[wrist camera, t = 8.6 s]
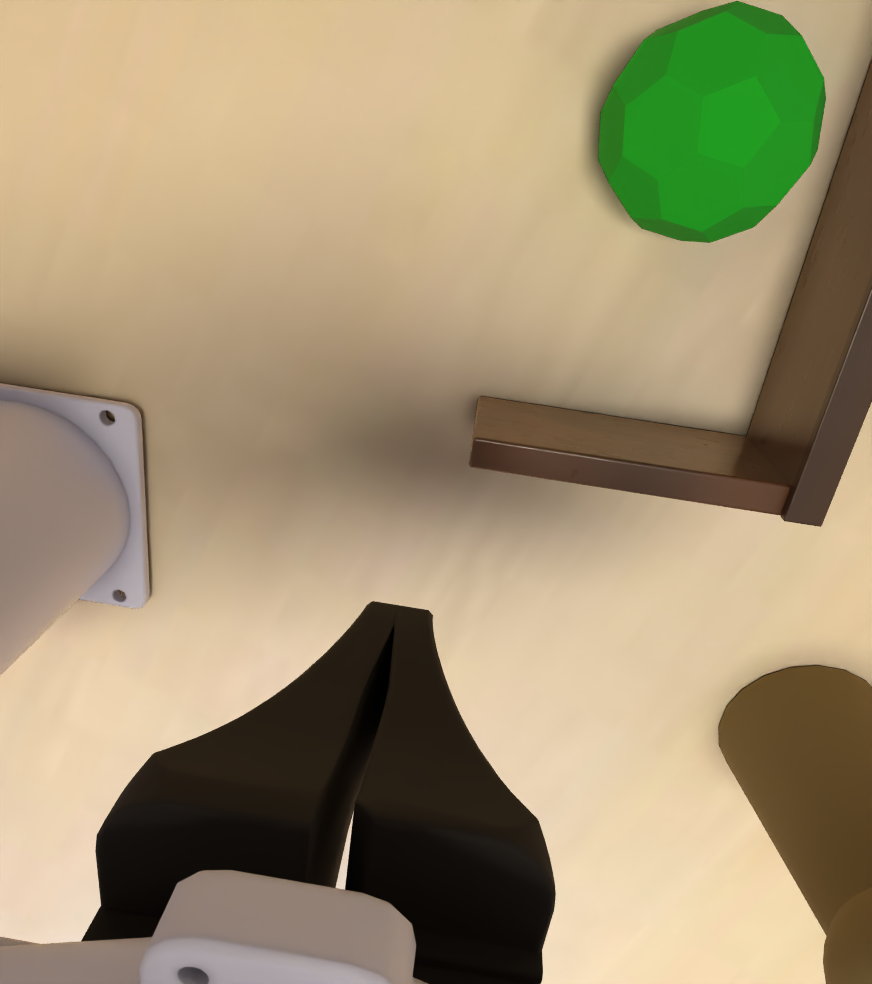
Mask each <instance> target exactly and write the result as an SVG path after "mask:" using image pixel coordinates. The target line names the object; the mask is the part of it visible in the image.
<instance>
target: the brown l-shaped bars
mask: <svg viewBox="0 0 872 984" xmlns="http://www.w3.org/2000/svg"><path fill="white" fill-rule="evenodd" d="M871 402H872V62H871V65H870V68H869V71H868V74H867V77H866V80H865V83H864V86H863V89H862V92H861V95H860V98H859V101H858V104H857V107H856V110H855V113H854V116H853V119H852V122H851V125H850V128H849V131H848V134H847V137H846V140H845V143H844V146H843V149H842V152H841V155H840V158H839V161H838V164H837V167H836V170H835V173H834V176H833V179H832V182H831V185H830V188H829V191H828V194H827V197H826V200H825V203H824V206H823V209H822V212H821V215H820V218H819V221H818V224H817V227H816V230H815V233H814V236H813V239H812V242H811V245H810V248H809V251H808V254H807V257H806V260H805V263H804V266H803V269H802V272H801V275H800V278H799V281H798V284H797V287H796V290H795V293H794V296H793V299H792V302H791V305H790V308H789V311H788V314H787V317H786V320H785V323H784V326H783V329H782V332H781V335H780V338H779V341H778V344H777V347H776V350H775V353H774V356H773V359H772V362H771V365H770V368H769V371H768V374H767V377H766V380H765V383H764V386H763V389H762V392H761V395H760V398H759V401H758V404H757V407H756V410H755V413H754V416H753V419H752V422H751V425H750V428H749V431H748V434H747V437H745V436H738V435H732V434H725V433H719V432H712V431H706V430H699V429H693V428H686V427H679V426H673V425H666V424H660V423H653V422H647V421H640V420H633V419H627V418H620V417H614V416H607V415H601V414H594V413H588V412H581V411H574V410H568V409H561V408H555V407H548V406H542V405H535V404H529V403H522V402H515V401H509V400H502V399H496V398H489V397H483V396H481V397H479V398H478V403H477V410H476V416H475V422H474V430H473V438H472V445H471V453H470V461H469V465H470V467H473V468H480V469H486V470H492V471H499V472H505V473H512V474H518V475H525V476H531V477H537V478H544V479H550V480H557V481H563V482H570V483H576V484H582V485H589V486H595V487H602V488H608V489H615V490H621V491H627V492H634V493H640V494H647V495H653V496H660V497H666V498H672V499H679V500H685V501H692V502H698V503H705V504H711V505H717V506H724V507H730V508H737V509H743V510H750V511H756V512H762V513H769V514H775V515H781V518H782V519H783V520H784V521H788V522H794V523H801V524H807V525H814V526H822V523H823V521H824V518H825V516H826V514H827V511H828V509H829V506H830V504H831V501H832V499H833V496H834V494H835V491H836V489H837V486H838V484H839V481H840V479H841V476H842V474H843V471H844V469H845V466H846V464H847V461H848V459H849V456H850V454H851V452H852V449H853V447H854V444H855V442H856V439H857V437H858V434H859V432H860V429H861V427H862V424H863V422H864V419H865V417H866V414H867V412H868V409H869V407H870V404H871Z"/></svg>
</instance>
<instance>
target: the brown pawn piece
mask: <svg viewBox="0 0 872 984" xmlns="http://www.w3.org/2000/svg"><path fill="white" fill-rule="evenodd" d="M719 747H720V749H721V751H722V753H723V755H724V757H725V760H726V762H727V764H728V765H729V767H730V769H731V771H732V772H733V774H734V776H735V777H736V779H737V781H738V783H739V784H740V786H741V788H742V790H743V791H744V793H745V795H746V797H747V798H748V800H749V802H750V804H751V805H752V807H753V809H754V811H755V812H756V814H757V816H758V817H759V819H760V821H761V823H762V824H763V826H764V828H765V830H766V831H767V833H768V835H769V837H770V838H771V840H772V842H773V844H774V845H775V847H776V849H777V850H778V852H779V854H780V856H781V857H782V859H783V861H784V863H785V864H786V866H787V868H788V870H789V871H790V873H791V875H792V877H793V878H794V880H795V882H796V884H797V885H798V887H799V889H800V890H801V892H802V894H803V896H804V897H805V899H806V901H807V903H808V904H809V906H810V908H811V910H812V911H813V913H814V915H815V917H816V918H817V920H818V922H819V924H820V925H821V927H822V929H823V930H824V932H825V934H826V936H827V937H826V940H825V944H824V956H823V965H824V972H825V979H826V984H872V687H871V686H870V684H869V683H868V682H867V681H865V680H863V679H861V678H859V677H857V676H855V675H853V674H851V673H849V672H847V671H845V670H840V669H835V668H829V667H824V666H806V667H792V668H788V669H785V670H781V671H778V672H775V673H772V674H769V675H766V676H763V677H762V678H760V679H759V680H757V681H755V682H754V683H752V684H751V685H749V686H747V687H746V688H744V689H742V690H741V692H740V693H739V694H738V695H737V696H736V697H735V698H734V699H733V700H732V702H731V703H730V704H729V705H728V706H727V707H726V710H725V712H724V715H723V717H722V719H721V722H720V724H719Z"/></svg>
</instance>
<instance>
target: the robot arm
mask: <svg viewBox="0 0 872 984" xmlns="http://www.w3.org/2000/svg"><path fill="white" fill-rule="evenodd" d="M106 410H107V411H110V412H111V413H112V414H113V415H114V417H115V422H113V421H111V420H109V419H108V418H107V416H106ZM118 590H121V591H123V592H124V593H125V595H126V596H123V595H121V594H120V593H119V592H118ZM149 597H150V587H149V566H148V545H147V523H146V502H145V480H144V459H143V438H142V419H141V415H140V412H139V411H138V409H137V408H136V407H134V406H133V405H131V404H129V403H125V402H119V401H112V400H106V399H99V398H93V397H86V396H80V395H73V394H67V393H61V392H54V391H48V390H41V389H35V388H28V387H22V386H15V385H9V384H3V383H0V676H1V675H2V674H3V673H4V672H5V671H6V670H7V669H8V668H9V667H10V666H11V665H12V664H13V663H14V662H15V661H16V660H17V659H18V658H19V657H20V656H21V655H22V654H23V653H24V652H25V651H26V650H27V649H28V648H29V647H30V646H31V645H32V644H33V643H34V642H35V641H36V640H37V639H38V638H39V637H40V636H41V635H42V634H43V633H44V632H45V631H46V630H47V629H48V628H49V627H50V626H51V625H52V624H53V623H55V622H56V621H57V620H58V619H59V618H60V617H61V616H62V615H63V614H64V613H65V612H66V611H67V610H68V609H69V608H70V607H71V606H72V605H73V604H74V603H75V602H76V601H77V600H78V599H79V600H85V601H91V602H97V603H103V604H109V605H115V606H122V607H128V608H141V607H143V606H144V605H145V603H146V602H147V601H148V600H149ZM353 811H354V816H353V825H352V833H351V842H350V851H349V860H348V869H347V878H346V886H345V890H343V889H337V888H335V887H336V882H337V878H338V873H339V869H340V864H341V860H342V855H343V851H344V846H345V842H346V837H347V833H348V829H349V825H350V822H351V818H352V815H353ZM96 860H97V869H98V879H99V889H100V898H101V907H100V908H99V910H98V912H97V914H96V916H95V917H94V919H93V921H92V923H91V925H90V926H89V928H88V930H87V932H86V933H85V935H84V937H83V939H82V941H81V942H66V943H50V944H38V943H32V942H27V941H21V940H15V939H10V938H4V937H0V984H541V981H542V975H543V965H542V948H543V945H544V941H545V938H546V935H547V931H548V928H549V925H550V921H551V918H552V915H553V912H554V906H555V895H556V894H555V883H554V877H553V872H552V867H551V862H550V857H549V854H548V850H547V846H546V842H545V839H544V836H543V833H542V830H541V827H540V824H539V821H538V819H537V818H536V817H535V816H534V815H533V814H532V813H531V812H530V811H529V810H528V809H527V808H526V807H525V806H524V805H523V804H522V803H521V802H520V801H519V800H518V799H517V798H516V797H515V796H514V795H513V793H512V792H511V791H510V790H509V789H508V788H507V786H506V785H505V784H504V783H503V781H502V780H501V779H500V778H499V777H498V775H497V774H496V772H495V771H494V769H493V768H492V766H491V765H490V764H489V762H488V761H487V759H486V758H485V756H484V755H483V753H482V752H481V751H480V749H479V748H478V746H477V744H476V743H475V741H474V739H473V737H472V736H471V734H470V732H469V730H468V729H467V727H466V725H465V723H464V721H463V719H462V717H461V715H460V713H459V711H458V709H457V706H456V704H455V702H454V699H453V697H452V694H451V692H450V690H449V687H448V684H447V682H446V679H445V676H444V673H443V669H442V666H441V663H440V660H439V656H438V652H437V648H436V644H435V639H434V633H433V615H432V614H431V613H430V611H429V610H424V609H417V608H411V607H405V606H399V605H393V604H387V603H380V602H374V601H373V602H371V603H369V604H368V605H367V606H366V607H365V609H364V610H363V612H362V613H361V614H360V616H359V617H358V618H357V619H356V621H355V622H354V623H353V624H352V625H351V627H350V628H349V629H348V630H347V631H346V632H345V633H344V634H343V636H342V637H341V638H340V639H339V640H338V641H337V642H336V643H335V644H334V645H333V646H332V647H331V648H330V649H329V650H328V651H327V652H326V653H325V654H324V655H323V656H322V657H321V658H320V659H319V660H317V661H316V662H315V663H314V664H313V665H312V666H311V667H310V668H309V669H307V670H306V671H305V672H304V673H303V674H302V675H300V676H299V677H298V678H297V679H296V680H294V681H293V682H292V683H290V684H289V685H288V686H287V687H285V688H284V689H282V690H281V691H280V692H278V693H277V694H276V695H274V696H273V697H271V698H270V699H268V700H267V701H265V702H264V703H262V704H260V705H259V706H257V707H256V708H254V709H253V710H251V711H249V712H248V713H246V714H244V715H243V716H241V717H239V718H237V719H235V720H233V721H231V722H229V723H227V724H225V725H223V726H221V727H219V728H217V729H215V730H213V731H211V732H208V733H206V734H204V735H202V736H199V737H197V738H194V739H192V740H189V741H186V742H184V743H181V744H178V745H176V746H173V747H170V748H167V749H165V750H162V751H159V752H156V753H154V754H152V756H151V757H150V758H149V759H148V760H147V762H146V763H145V764H144V765H143V766H142V768H141V769H140V770H139V771H138V772H137V774H136V775H135V776H134V777H133V779H132V780H131V781H130V782H129V783H128V785H127V786H126V788H125V789H124V791H123V792H122V794H121V795H120V797H119V798H118V800H117V801H116V803H115V805H114V806H113V808H112V810H111V811H110V813H109V814H108V816H107V818H106V819H105V821H104V823H103V825H102V827H101V828H100V830H99V832H98V834H97V840H96Z"/></svg>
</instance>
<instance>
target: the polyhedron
mask: <svg viewBox="0 0 872 984" xmlns="http://www.w3.org/2000/svg"><path fill="white" fill-rule="evenodd" d="M825 100H826V95H825V85H824V77H823V75H822V74H821V72H820V70H819V68H818V66H817V64H816V62H815V60H814V58H813V56H812V54H811V52H810V50H809V49H808V47H807V45H806V43H805V41H804V39H803V37H802V35H801V34H800V33H799V32H798V31H797V30H796V29H795V28H794V27H793V26H792V25H791V24H790V23H789V22H788V21H787V20H786V19H785V18H784V17H783V16H782V15H779V14H776V13H773V12H770V11H767V10H764V9H761V8H758V7H754V6H751V5H748V4H745V3H742V2H739V1H735V2H731V3H728V4H725V5H721V6H718V7H714V8H711V9H707V10H704V11H701V12H699V13H696V14H694V15H691V16H689V17H687V18H684V19H682V20H680V21H677V22H675V23H672V24H670V25H668V26H665V27H663V28H661V29H658V30H656V31H655V32H654V33H652V34H651V35H650V36H649V37H647V38H646V39H645V40H644V41H643V42H642V44H641V45H640V46H639V48H638V49H637V51H636V52H635V54H634V55H633V57H632V58H631V60H630V61H629V63H628V64H627V66H626V67H625V69H624V70H623V72H622V73H621V74H620V76H619V77H618V79H617V80H616V82H615V83H614V85H613V87H612V89H611V91H610V93H609V96H608V98H607V100H606V102H605V104H604V106H603V109H602V111H601V116H600V136H599V157H598V160H599V163H600V165H601V167H602V169H603V171H604V174H605V176H606V178H607V180H608V182H609V184H610V185H611V187H612V188H613V190H614V192H615V193H616V195H617V196H618V198H619V199H620V201H621V203H622V204H623V206H624V207H625V209H626V210H627V212H628V214H629V215H630V217H631V218H632V219H633V220H634V221H635V222H636V223H637V224H638V225H639V226H640V227H641V228H642V229H645V230H648V231H651V232H655V233H658V234H661V235H664V236H667V237H671V238H674V239H677V240H680V241H694V242H708V243H710V242H713V241H716V240H719V239H722V238H724V237H727V236H730V235H733V234H736V233H739V232H742V231H744V230H747V229H750V228H753V227H754V226H756V225H757V224H758V223H759V222H760V221H761V220H762V219H763V218H764V217H765V216H766V215H767V214H768V213H769V212H770V211H771V210H772V209H774V208H775V207H776V206H777V205H778V203H779V202H780V201H781V200H782V199H783V197H784V196H785V195H786V194H787V193H788V191H789V190H790V189H791V188H792V187H793V185H794V184H795V183H796V182H797V180H798V179H799V178H800V177H801V176H802V174H803V173H804V172H805V171H806V170H807V168H808V167H809V166H810V164H811V162H812V160H813V158H814V156H815V154H816V152H817V150H818V143H819V137H820V131H821V125H822V119H823V113H824V107H825Z"/></svg>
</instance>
